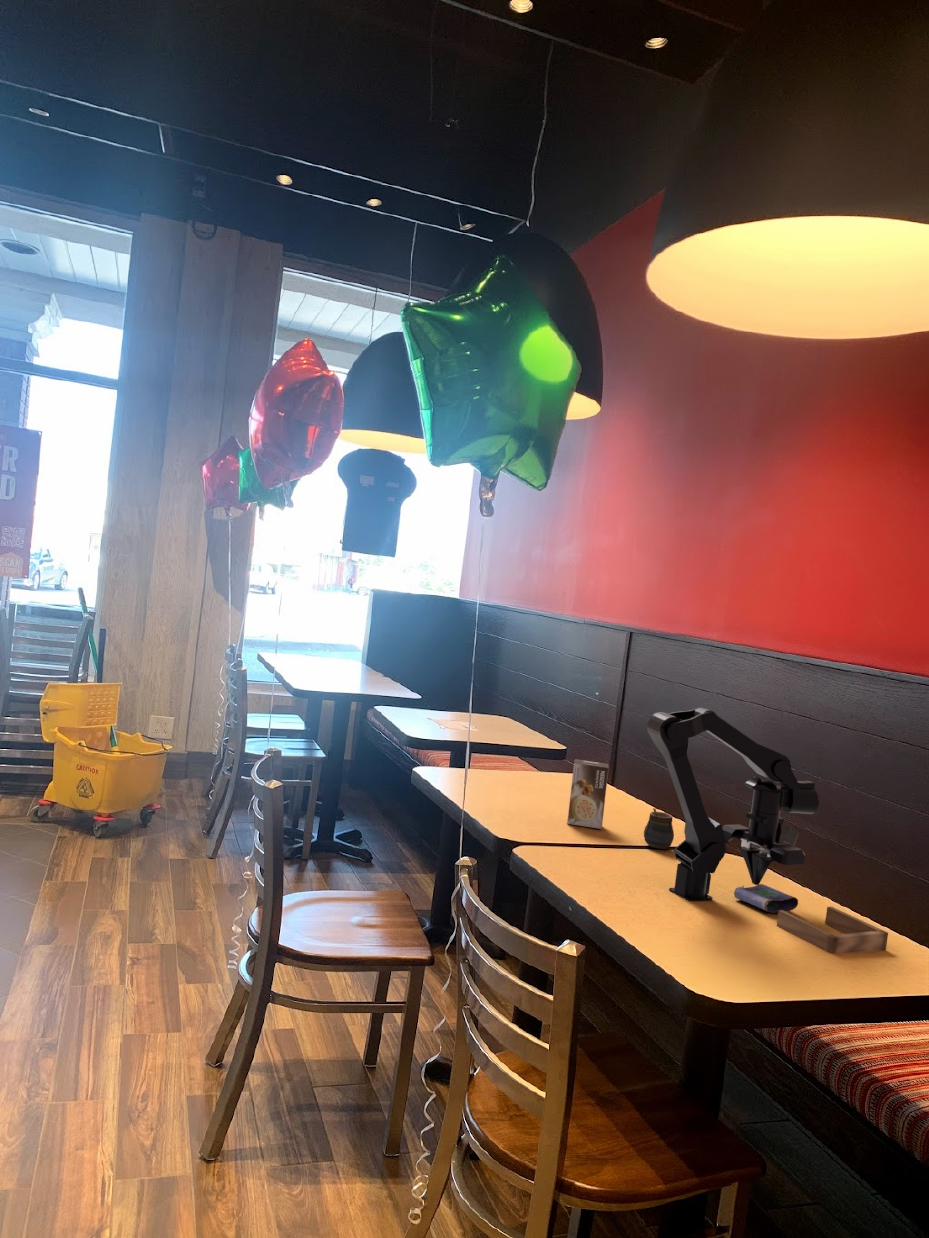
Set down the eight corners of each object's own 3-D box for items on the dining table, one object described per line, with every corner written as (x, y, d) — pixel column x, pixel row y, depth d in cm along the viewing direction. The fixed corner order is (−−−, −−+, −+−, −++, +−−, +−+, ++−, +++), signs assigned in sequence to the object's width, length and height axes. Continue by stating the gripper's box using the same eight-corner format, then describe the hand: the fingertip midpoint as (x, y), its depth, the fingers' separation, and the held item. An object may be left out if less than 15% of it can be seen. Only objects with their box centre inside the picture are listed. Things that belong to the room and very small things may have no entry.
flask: (766, 900, 182) (727, 884, 192) (765, 915, 182) (726, 898, 192) (799, 896, 187) (758, 880, 196) (798, 910, 187) (757, 894, 196)
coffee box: (602, 823, 242) (609, 763, 241) (601, 829, 235) (609, 767, 235) (567, 818, 243) (575, 758, 242) (566, 823, 237) (573, 762, 236)
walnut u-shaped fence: (831, 957, 165) (833, 938, 165) (776, 928, 177) (778, 910, 176) (885, 951, 171) (888, 932, 171) (829, 923, 183) (831, 906, 183)
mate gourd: (676, 847, 227) (681, 807, 227) (665, 853, 221) (671, 812, 220) (649, 840, 231) (654, 801, 230) (637, 845, 224) (643, 805, 224)
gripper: (828, 823, 187) (818, 898, 187) (760, 798, 203) (751, 867, 204) (789, 824, 181) (778, 901, 182) (722, 798, 198) (713, 869, 199)
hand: (755, 884), depth 192 cm, fingers closed
